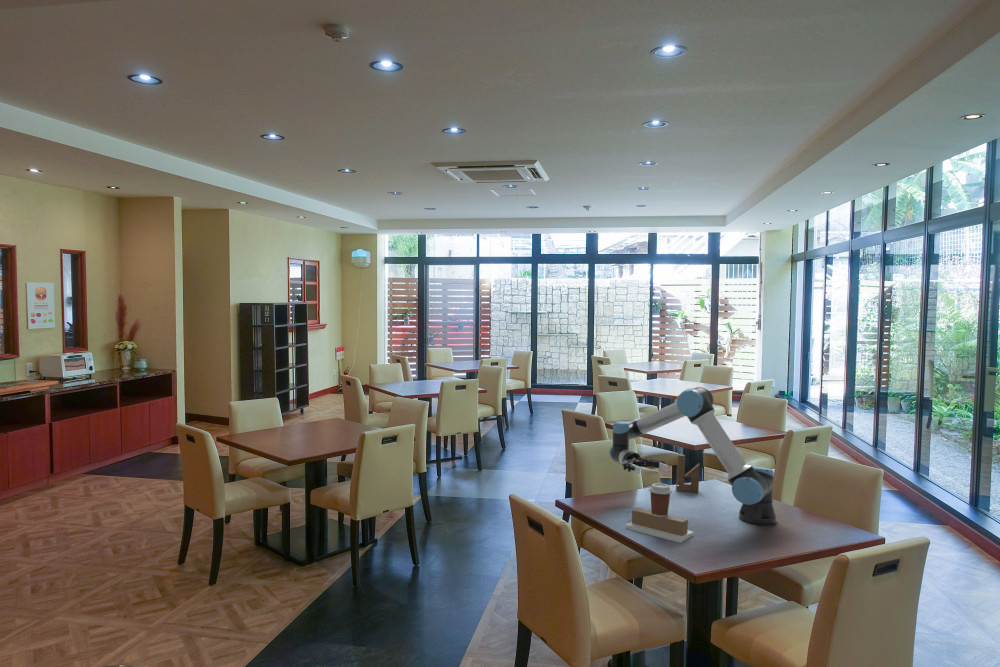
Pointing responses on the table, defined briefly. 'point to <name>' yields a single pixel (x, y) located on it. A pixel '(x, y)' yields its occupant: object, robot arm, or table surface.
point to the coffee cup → (660, 499)
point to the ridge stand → (659, 525)
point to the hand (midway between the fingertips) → (653, 469)
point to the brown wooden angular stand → (687, 476)
